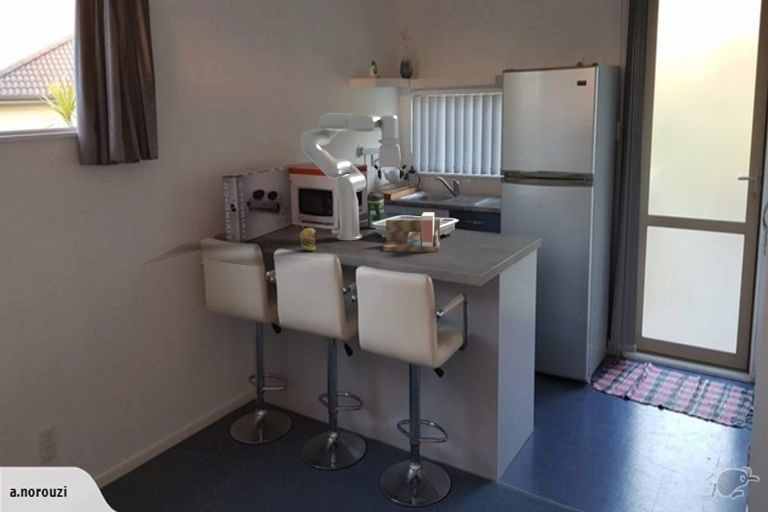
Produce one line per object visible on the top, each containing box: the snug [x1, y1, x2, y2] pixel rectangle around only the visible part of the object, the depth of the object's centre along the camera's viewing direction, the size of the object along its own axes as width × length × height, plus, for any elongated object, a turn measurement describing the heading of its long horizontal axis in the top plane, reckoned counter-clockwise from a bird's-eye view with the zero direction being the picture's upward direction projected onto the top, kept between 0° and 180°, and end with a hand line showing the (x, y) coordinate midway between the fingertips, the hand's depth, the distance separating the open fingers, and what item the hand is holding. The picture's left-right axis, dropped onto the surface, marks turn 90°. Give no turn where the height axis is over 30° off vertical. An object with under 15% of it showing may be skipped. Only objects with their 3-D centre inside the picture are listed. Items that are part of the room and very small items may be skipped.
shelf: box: [382, 220, 441, 253], centre depth 297 cm, size 25×13×12 cm, turn 82°
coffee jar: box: [366, 192, 385, 230], centre depth 346 cm, size 10×8×19 cm
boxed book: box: [421, 211, 435, 247], centre depth 295 cm, size 5×9×14 cm, turn 172°
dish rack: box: [372, 215, 460, 238], centre depth 325 cm, size 32×37×8 cm
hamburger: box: [299, 225, 316, 252], centre depth 296 cm, size 8×7×12 cm
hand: (390, 179), depth 305 cm, fingers open, 9 cm apart
